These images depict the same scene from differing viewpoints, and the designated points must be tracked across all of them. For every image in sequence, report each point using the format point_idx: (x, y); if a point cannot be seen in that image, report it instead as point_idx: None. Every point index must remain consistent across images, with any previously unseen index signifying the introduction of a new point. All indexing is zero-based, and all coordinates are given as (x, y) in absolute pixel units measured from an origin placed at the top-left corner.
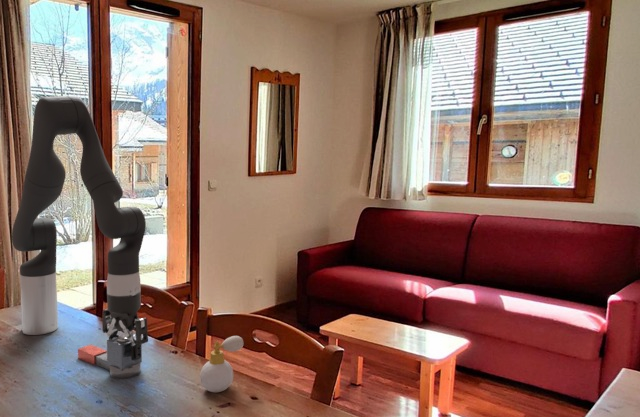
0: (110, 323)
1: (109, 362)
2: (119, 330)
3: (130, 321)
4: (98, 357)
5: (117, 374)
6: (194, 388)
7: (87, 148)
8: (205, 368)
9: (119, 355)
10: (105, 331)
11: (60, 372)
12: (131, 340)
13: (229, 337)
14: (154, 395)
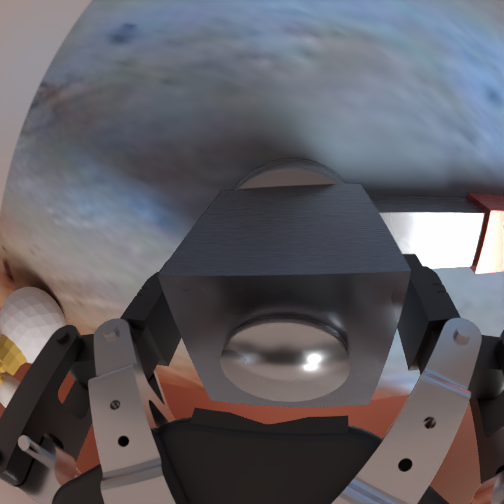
0: (501, 414)
1: (342, 189)
2: (298, 427)
3: (57, 500)
4: (467, 213)
5: (254, 172)
6: (65, 284)
7: None
8: (8, 321)
9: (218, 225)
10: (501, 342)
11: (501, 71)
12: (114, 350)
13: (3, 402)
14: (64, 196)
